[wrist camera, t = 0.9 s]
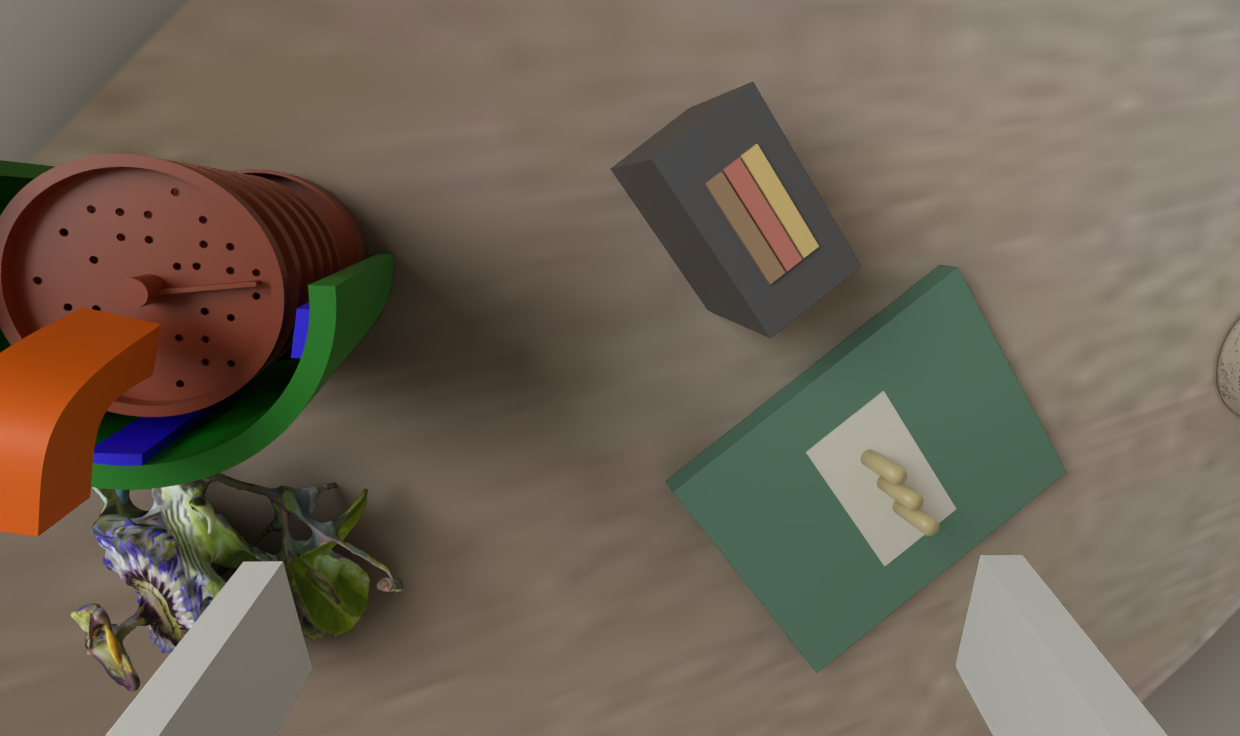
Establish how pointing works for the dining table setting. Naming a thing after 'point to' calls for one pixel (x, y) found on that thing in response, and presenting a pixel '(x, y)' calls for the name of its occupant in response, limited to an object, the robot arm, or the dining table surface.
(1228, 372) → the teacup with lid
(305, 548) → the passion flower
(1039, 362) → the dining table surface
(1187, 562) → the dining table surface
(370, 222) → the dining table surface
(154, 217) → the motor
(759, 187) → the plug housing
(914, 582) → the header board
